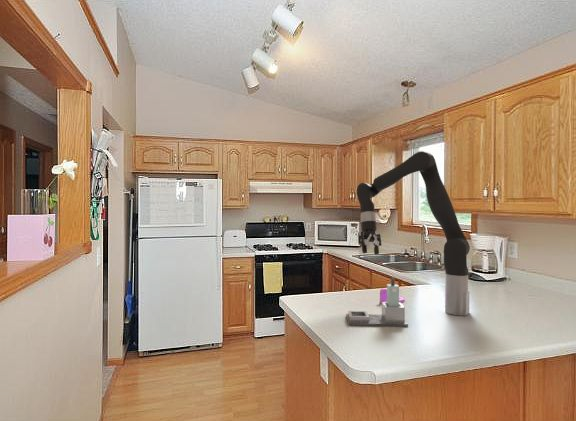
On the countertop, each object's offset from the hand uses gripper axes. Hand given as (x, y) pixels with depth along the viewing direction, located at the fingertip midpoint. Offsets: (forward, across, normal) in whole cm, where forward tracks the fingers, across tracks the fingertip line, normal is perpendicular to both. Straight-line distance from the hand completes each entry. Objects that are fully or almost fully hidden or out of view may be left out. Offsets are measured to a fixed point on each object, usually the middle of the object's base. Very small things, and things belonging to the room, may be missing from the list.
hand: (370, 253), depth 178 cm
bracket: (+24, +12, -1) cm, 27 cm away
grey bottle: (+26, -13, -20) cm, 36 cm away
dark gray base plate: (+31, -17, -15) cm, 38 cm away
